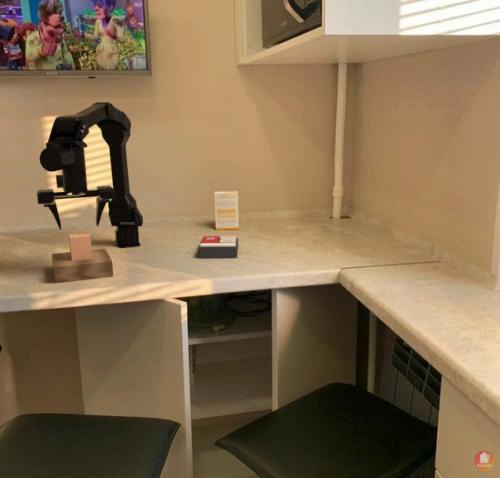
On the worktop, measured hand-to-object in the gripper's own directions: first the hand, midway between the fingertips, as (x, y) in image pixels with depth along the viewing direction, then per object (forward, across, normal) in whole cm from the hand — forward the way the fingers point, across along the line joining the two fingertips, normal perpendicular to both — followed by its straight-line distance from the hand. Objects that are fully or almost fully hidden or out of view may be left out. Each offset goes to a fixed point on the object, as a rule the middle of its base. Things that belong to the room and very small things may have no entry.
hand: (79, 227), depth 143 cm
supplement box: (+12, -52, -34) cm, 63 cm away
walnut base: (+12, 0, +1) cm, 12 cm away
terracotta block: (+8, 0, +1) cm, 8 cm away
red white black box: (+13, -39, -5) cm, 42 cm away
